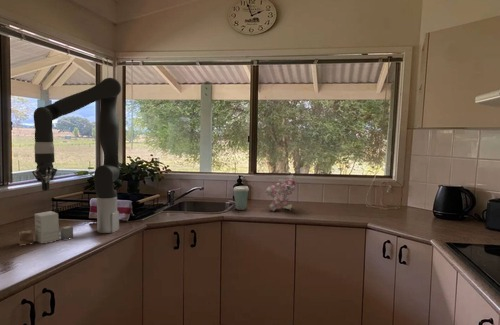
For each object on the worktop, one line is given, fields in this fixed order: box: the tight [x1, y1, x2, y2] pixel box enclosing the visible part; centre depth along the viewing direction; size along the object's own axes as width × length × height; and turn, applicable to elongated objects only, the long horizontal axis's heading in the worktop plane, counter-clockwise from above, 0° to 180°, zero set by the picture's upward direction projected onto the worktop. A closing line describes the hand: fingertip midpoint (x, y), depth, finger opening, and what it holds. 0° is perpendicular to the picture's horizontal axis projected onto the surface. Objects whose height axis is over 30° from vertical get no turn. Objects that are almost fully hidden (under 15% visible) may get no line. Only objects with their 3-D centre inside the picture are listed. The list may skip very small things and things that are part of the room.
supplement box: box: [34, 210, 60, 244], centre depth 149 cm, size 7×7×13 cm
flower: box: [264, 172, 297, 212], centre depth 224 cm, size 20×22×25 cm
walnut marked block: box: [18, 229, 35, 246], centre depth 145 cm, size 5×5×5 cm
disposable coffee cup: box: [232, 185, 250, 211], centre depth 222 cm, size 11×11×15 cm
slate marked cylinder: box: [60, 225, 74, 240], centre depth 154 cm, size 5×5×5 cm
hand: (45, 190), depth 151 cm, fingers closed
